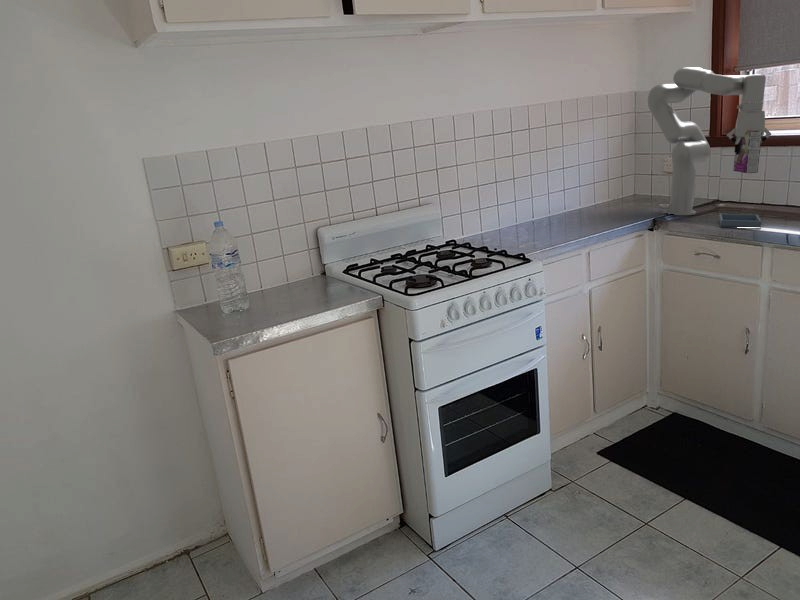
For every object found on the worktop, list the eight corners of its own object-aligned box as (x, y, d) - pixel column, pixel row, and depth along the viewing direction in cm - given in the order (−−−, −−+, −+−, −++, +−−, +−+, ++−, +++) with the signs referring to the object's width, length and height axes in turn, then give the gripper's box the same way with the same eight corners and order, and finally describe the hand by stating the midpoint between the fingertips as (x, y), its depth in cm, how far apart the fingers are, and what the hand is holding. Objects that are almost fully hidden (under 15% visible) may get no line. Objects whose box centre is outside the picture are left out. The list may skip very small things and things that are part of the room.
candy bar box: (732, 171, 264) (736, 130, 259) (744, 170, 264) (749, 129, 259) (745, 173, 253) (750, 130, 249) (758, 173, 253) (763, 130, 248)
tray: (720, 227, 256) (721, 220, 255) (718, 220, 270) (719, 213, 269) (760, 229, 250) (761, 221, 249) (756, 222, 264) (757, 214, 264)
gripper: (728, 108, 251) (723, 155, 256) (778, 106, 245) (772, 154, 250) (726, 108, 258) (722, 154, 263) (775, 106, 252) (769, 153, 257)
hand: (746, 153), depth 256 cm, fingers closed on candy bar box, 6 cm apart
